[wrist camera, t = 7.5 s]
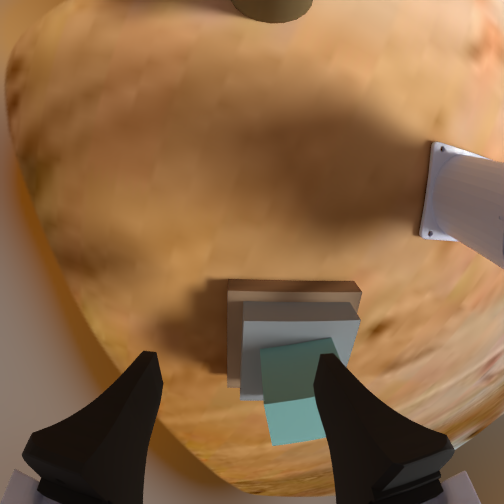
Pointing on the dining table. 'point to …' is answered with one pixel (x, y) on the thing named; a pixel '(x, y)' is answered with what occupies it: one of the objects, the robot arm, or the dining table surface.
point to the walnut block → (276, 293)
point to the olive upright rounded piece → (273, 9)
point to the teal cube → (293, 390)
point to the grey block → (291, 333)
